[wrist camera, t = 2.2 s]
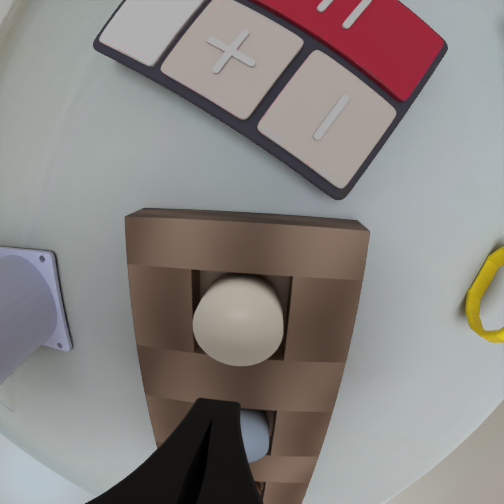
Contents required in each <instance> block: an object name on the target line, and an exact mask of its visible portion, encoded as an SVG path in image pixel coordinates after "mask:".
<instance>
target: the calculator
mask: <svg viewBox="0 0 504 504" xmlns="http://www.w3.org/2000/svg"><path fill="white" fill-rule="evenodd" d="M93 47H94V49H95V50H96V51H98V52H100V53H102V54H104V55H106V56H108V57H110V58H112V59H114V60H116V61H117V62H119V63H121V64H123V65H125V66H127V67H129V68H131V69H133V70H135V71H137V72H138V73H140V74H142V75H144V76H146V77H148V78H149V79H151V80H153V81H155V82H157V83H158V84H160V85H162V86H164V87H165V88H167V89H169V90H171V91H172V92H174V93H176V94H178V95H179V96H181V97H183V98H184V99H186V100H188V101H189V102H191V103H193V104H194V105H196V106H198V107H199V108H201V109H203V110H204V111H206V112H208V113H209V114H211V115H212V116H214V117H216V118H217V119H219V120H220V121H222V122H224V123H225V124H227V125H228V126H230V127H231V128H233V129H234V130H236V131H238V132H239V133H241V134H242V135H244V136H245V137H247V138H248V139H250V140H251V141H253V142H254V143H256V144H257V145H259V146H260V147H262V148H263V149H265V150H266V151H268V152H269V153H270V154H272V155H273V156H275V157H276V158H278V159H279V160H281V161H282V162H283V163H285V164H286V165H288V166H289V167H290V168H292V169H293V170H295V171H296V172H297V173H299V174H300V175H302V176H303V177H304V178H306V179H307V180H308V181H310V182H311V183H313V184H314V185H315V186H317V187H318V188H319V189H321V190H322V191H323V192H325V193H326V194H327V195H329V196H330V197H332V198H333V199H335V200H342V199H344V198H345V197H346V196H347V195H348V194H349V192H350V191H351V190H352V188H353V187H354V185H355V184H356V183H357V181H358V180H359V179H360V177H361V176H362V174H363V173H364V172H365V170H366V169H367V168H368V166H369V165H370V163H371V162H372V161H373V159H374V158H375V156H376V155H377V154H378V152H379V151H380V149H381V148H382V147H383V145H384V144H385V142H386V141H387V140H388V138H389V137H390V135H391V134H392V132H393V131H394V130H395V128H396V127H397V125H398V124H399V122H400V121H401V119H402V118H403V117H404V115H405V114H406V112H407V111H408V109H409V108H410V106H411V105H412V103H413V102H414V100H415V99H416V98H417V96H418V95H419V93H420V92H421V90H422V89H423V87H424V86H425V84H426V83H427V81H428V80H429V78H430V77H431V75H432V74H433V72H434V70H435V69H436V67H437V66H438V64H439V63H440V61H441V60H442V58H443V57H444V55H445V54H446V52H447V50H448V46H447V43H446V42H445V40H444V39H443V38H442V37H441V36H440V35H438V34H437V33H436V32H435V31H434V30H433V29H432V28H431V27H430V26H429V25H427V24H426V23H425V22H424V21H423V20H422V19H421V18H419V17H418V16H417V15H416V14H415V13H413V12H412V11H411V10H410V9H409V8H407V7H406V6H405V5H404V4H402V3H401V2H400V1H399V0H123V1H122V2H121V4H120V5H119V6H118V8H117V9H116V10H115V12H114V13H113V14H112V16H111V17H110V18H109V20H108V21H107V22H106V24H105V25H104V27H103V28H102V30H101V31H100V32H99V34H98V35H97V37H96V39H95V40H94V42H93Z"/></svg>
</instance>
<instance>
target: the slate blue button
mask: <svg viewBox="0 0 504 504" xmlns="http://www.w3.org/2000/svg"><path fill="white" fill-rule="evenodd" d="M240 423H241V431H242V438H243V443H244V447H245V451H246V455H247V459H248V463H250V462H254V461H257V460H259V459H261V458H262V457H263V456H265V454H266V453H267V452H268V449H269V429H270V423H269V420H268V418H267V416H266V415H265V414H264V413H263V412H262V411H261V410H259V409H246V408H241V415H240Z"/></svg>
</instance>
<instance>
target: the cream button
mask: <svg viewBox="0 0 504 504" xmlns="http://www.w3.org/2000/svg"><path fill="white" fill-rule="evenodd" d="M193 332H194V336H195V338H196V341H197V342H198V344H199V346H200V347H201V348H202V349H203V350H204V352H205V353H207V354H208V355H209V356H210V357H212V358H213V359H215V360H217V361H219V362H221V363H224V364H227V365H232V366H250V365H254V364H258V363H260V362H262V361H264V360H266V359H268V358H269V357H270V356H271V355H272V354H273V353H274V352H275V351H276V350H277V349H278V347H279V345H280V343H281V341H282V337H283V308H282V303H281V299H280V297H279V295H278V293H277V292H276V290H275V289H274V288H273V287H272V286H271V285H270V284H269V283H268V282H266V281H265V280H263V279H262V278H260V277H257V276H255V275H251V274H247V273H233V274H228V275H225V276H222V277H220V278H218V279H217V280H215V281H214V282H213V283H212V284H211V285H210V286H209V287H208V288H207V289H206V291H205V293H204V295H203V297H202V299H201V301H200V303H199V305H198V307H197V309H196V311H195V314H194V317H193Z"/></svg>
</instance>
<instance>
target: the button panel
mask: <svg viewBox="0 0 504 504" xmlns="http://www.w3.org/2000/svg"><path fill="white" fill-rule="evenodd" d="M125 235H126V252H127V266H128V277H129V288H130V298H131V307H132V315H133V323H134V330H135V337H136V344H137V351H138V357H139V363H140V369H141V375H142V380H143V386H144V391H145V396H146V401H147V406H148V410H149V415H150V419H151V424H152V428H153V432H154V436H155V441H156V445H157V448H159V447H160V446H161V445H162V444H163V443H164V441H165V440H166V439H167V438H168V437H169V436H170V434H171V433H172V432H173V431H174V430H175V429H176V427H177V426H178V425H179V424H180V422H181V421H182V420H183V418H184V417H185V416H186V414H187V413H188V411H189V410H190V409H191V407H192V406H193V404H194V402H195V401H196V399H198V398H207V399H216V400H224V401H234V402H238V403H239V404H241V408H246V409H259V410H261V411H262V412H263V413H264V414H265V415H266V416H267V418H268V420H269V423H270V429H269V449H268V452H267V453H266V454H265V456H263V457H262V458H261V459H259V460H257V461H254V462H250V463H249V466H250V469H251V472H252V475H253V478H254V481H258V482H259V483H260V485H261V494H260V496H261V499H262V501H263V503H264V504H301V503H302V501H303V498H304V496H305V493H306V490H307V488H308V485H309V482H310V480H311V477H312V474H313V471H314V468H315V466H316V463H317V460H318V457H319V454H320V451H321V448H322V445H323V442H324V439H325V435H326V432H327V429H328V426H329V422H330V419H331V416H332V412H333V409H334V405H335V402H336V398H337V394H338V391H339V387H340V383H341V379H342V375H343V371H344V367H345V363H346V359H347V355H348V351H349V346H350V342H351V337H352V333H353V328H354V323H355V319H356V314H357V309H358V303H359V298H360V293H361V287H362V281H363V276H364V270H365V263H366V257H367V250H368V243H369V236H370V231H369V230H368V229H367V228H366V227H364V226H363V225H362V224H361V223H360V222H358V221H357V220H346V219H334V218H322V217H309V216H295V215H280V214H265V213H248V212H230V211H210V210H187V209H159V208H143V209H141V210H138V211H136V212H134V213H132V214H129V215H127V216H125ZM233 273H247V274H251V275H255V276H257V277H260V278H262V279H263V280H265V281H266V282H268V283H269V284H270V285H271V286H272V287H273V288H274V289H275V290H276V292H277V293H278V295H279V297H280V299H281V303H282V308H283V337H282V341H281V343H280V345H279V347H278V349H277V350H276V351H275V352H274V353H273V354H272V355H271V356H270V357H269V358H268V359H266V360H264V361H262V362H260V363H258V364H254V365H250V366H232V365H227V364H224V363H221V362H219V361H217V360H215V359H213V358H212V357H210V356H209V355H208V354H207V353H205V352H204V350H203V349H202V348H201V347H200V346H199V344H198V342H197V341H196V338H195V336H194V332H193V317H194V314H195V311H196V309H197V307H198V305H199V303H200V301H201V299H202V297H203V295H204V293H205V291H206V289H207V288H208V287H209V286H210V285H211V284H212V283H213V282H214V281H215V280H217V279H218V278H220V277H222V276H225V275H228V274H233Z"/></svg>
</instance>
